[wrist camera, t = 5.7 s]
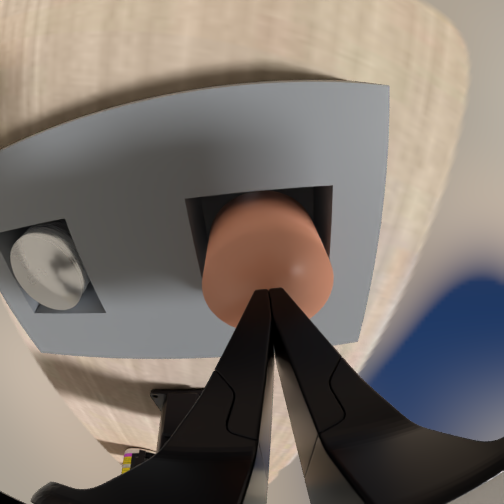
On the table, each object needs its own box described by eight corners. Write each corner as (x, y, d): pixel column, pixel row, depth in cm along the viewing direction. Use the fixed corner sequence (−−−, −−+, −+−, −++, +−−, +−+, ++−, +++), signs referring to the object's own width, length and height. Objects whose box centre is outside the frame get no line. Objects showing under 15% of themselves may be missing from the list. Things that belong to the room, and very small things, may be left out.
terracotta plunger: (313, 276, 13) (328, 325, 11) (218, 285, 13) (214, 337, 11) (314, 186, 11) (337, 224, 8) (201, 196, 11) (189, 238, 8)
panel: (339, 291, 18) (357, 341, 14) (62, 310, 18) (41, 352, 15) (348, 80, 11) (389, 85, 8) (-5, 151, 11) (-49, 178, 8)
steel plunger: (113, 270, 15) (95, 309, 12) (56, 275, 15) (34, 310, 12) (88, 199, 12) (58, 230, 10) (29, 212, 13) (-2, 242, 10)
